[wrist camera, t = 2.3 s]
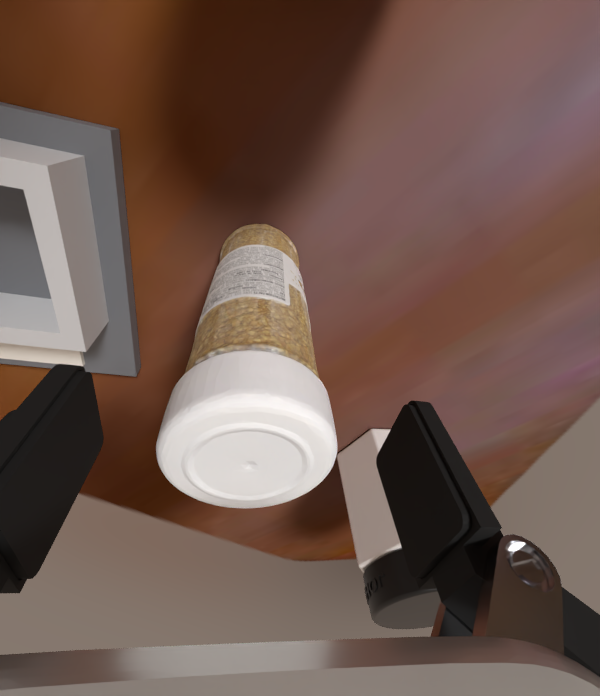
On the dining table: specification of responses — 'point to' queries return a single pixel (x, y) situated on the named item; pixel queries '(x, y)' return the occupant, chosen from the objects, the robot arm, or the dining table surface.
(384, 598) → the jar
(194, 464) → the sprinkles bottle
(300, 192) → the dining table surface
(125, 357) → the socket board
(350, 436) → the dining table surface
